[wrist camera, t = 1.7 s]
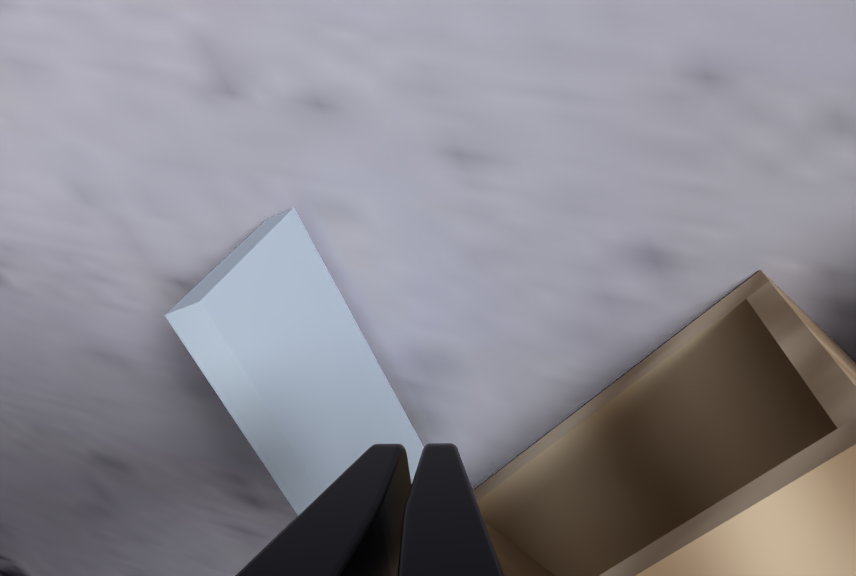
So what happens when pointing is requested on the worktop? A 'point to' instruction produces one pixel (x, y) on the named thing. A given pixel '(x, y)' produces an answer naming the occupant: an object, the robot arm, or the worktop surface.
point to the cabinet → (696, 459)
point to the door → (291, 361)
